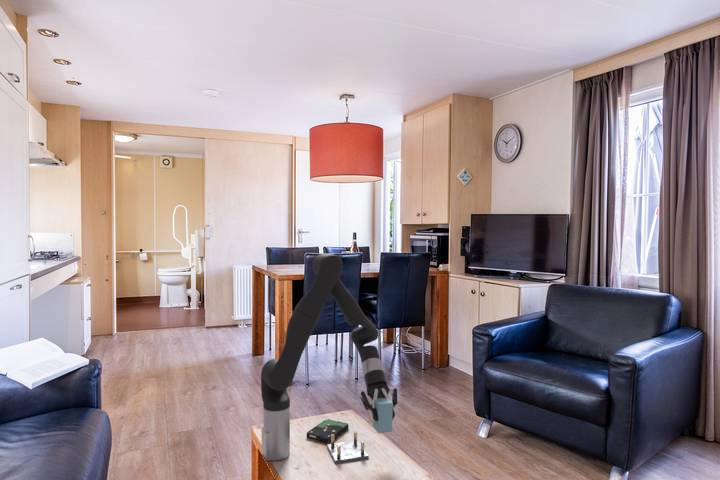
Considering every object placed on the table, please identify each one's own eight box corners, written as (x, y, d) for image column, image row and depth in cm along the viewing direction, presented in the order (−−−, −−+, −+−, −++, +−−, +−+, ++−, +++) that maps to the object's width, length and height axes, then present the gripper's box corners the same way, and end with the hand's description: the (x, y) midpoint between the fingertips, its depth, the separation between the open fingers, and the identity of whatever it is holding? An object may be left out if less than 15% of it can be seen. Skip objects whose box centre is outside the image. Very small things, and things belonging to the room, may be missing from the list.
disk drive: (329, 446, 169) (348, 430, 182) (329, 438, 169) (348, 423, 182) (306, 439, 174) (326, 424, 187) (306, 432, 173) (326, 417, 187)
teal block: (378, 433, 154) (378, 404, 154) (373, 427, 159) (374, 398, 158) (392, 431, 155) (392, 402, 155) (386, 425, 160) (387, 397, 160)
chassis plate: (335, 463, 155) (335, 449, 155) (327, 447, 167) (327, 433, 166) (368, 458, 159) (368, 444, 159) (358, 442, 170) (358, 429, 170)
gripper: (357, 370, 161) (367, 417, 150) (395, 367, 166) (407, 412, 155) (352, 380, 167) (362, 426, 155) (389, 377, 171) (401, 421, 160)
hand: (384, 419), depth 155 cm, fingers closed on teal block, 5 cm apart
